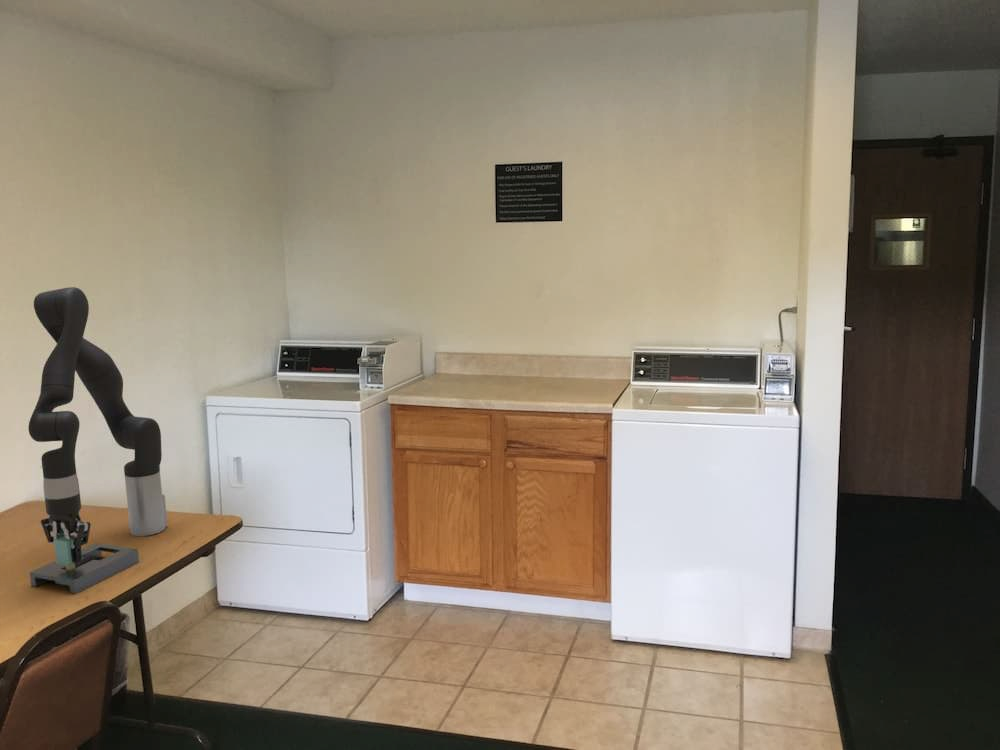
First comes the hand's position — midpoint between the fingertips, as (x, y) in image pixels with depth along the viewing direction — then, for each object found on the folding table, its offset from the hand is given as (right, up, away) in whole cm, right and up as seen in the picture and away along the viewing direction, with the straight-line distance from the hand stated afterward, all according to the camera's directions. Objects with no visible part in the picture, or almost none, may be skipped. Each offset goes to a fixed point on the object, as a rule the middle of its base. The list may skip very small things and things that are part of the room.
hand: (69, 559), depth 200 cm
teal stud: (0, -5, +1) cm, 5 cm away
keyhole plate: (+2, -5, +5) cm, 7 cm away
